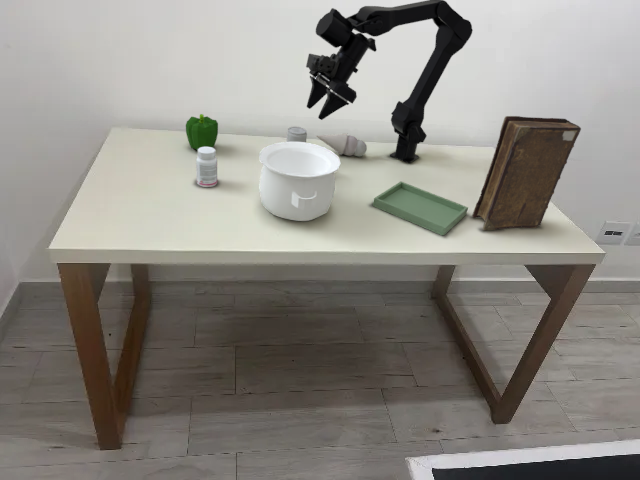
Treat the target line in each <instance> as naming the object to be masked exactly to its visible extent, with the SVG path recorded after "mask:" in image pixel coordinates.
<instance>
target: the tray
mask: <svg viewBox="0 0 640 480" xmlns="http://www.w3.org/2000/svg"><path fill="white" fill-rule="evenodd" d="M372 207H374V208H377V209H379V210H382V211H383V212H386V213H388V214H390V215H393V216H395V217H397V218H400V219H403V220H404V221H408V222H409V223H412V224H414V225H417V226H419V227H422V228H423V229H426V230H428V231H430V232H433V233H435V234H437V235H440V236H445V235H446V234H447V233H448V232H449V231H450V230H452V228H454V227H455V226H456V225H457V224H459V222H460V221H461V220H462V219H464V217H466V216H467V214H468V209H469V207H468V206H465V205H463V204H461V203H458V202H456V201H453V200H450V199H448V198H445V197H442V196H440V195H437V194H435V193H432V192H430V191H427V190H424V189H422V188H419V187H417V186H414V185H411V184H410V183H406V182H405V181H399V182H398V183H395V184H394V185H393V186H391V187H390V188H388V189H386V190H385V191H383V192H381V193H380V194H378V195H377V196H375V197H374V198H373V203H372Z"/></svg>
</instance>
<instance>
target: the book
mask: <svg viewBox="0 0 640 480" xmlns="http://www.w3.org/2000/svg"><path fill="white" fill-rule="evenodd" d="M581 130H582V128H581V127H580V126H579V125H578V124H575V123H573V122H571V121H570V120H568V119H566V118H557V117H532V116H531V117H528V116H520V115H505V116H504V119H503V122H502V124H501V127H500V130H499V131H500V133H499V137H498V140H497V143H496V146H495V151H494V153H493V157H492V160H491V163H490V165H489V168H488V171H487V174H486V177H485V180H484V183H483V186H482V189H481V191H480V194H479V195H480V196H479V197H478V201H477V202H476V204H475V207H474V209H473V212H472V215H471V217H472V218H473V219H474V218H482V220H483V221H484V224H483V226H482V230H483V231H497V230H504V229H505V230H507V229H517V228H522V229H523V228H525V229H534V228H535V229H536V228H538V227H540V226H542V225H541V224H542V222H543V221H544V220H543V219H544V216H545V214H546V212H547V209H549V204H550V202H551V199H552V197H553V195H554V194H555V189H556V187H557V185H558V182H559V180H560V179H561V175H562V173H563V171H564V169H565V167H566V165H567V164H568V159H569V158H570V154H571V152H572V150H573V148H574V147H575V143H576V141H577V139H578V137H579V135H580V134H581Z"/></svg>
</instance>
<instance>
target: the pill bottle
mask: <svg viewBox="0 0 640 480" xmlns="http://www.w3.org/2000/svg"><path fill="white" fill-rule="evenodd" d="M195 165H196V167H195V168H196V170H195V171H196V184H197V185H198V186H200V187H203V188H212V187H215V186H216V185H217V184H218V157H216V148H214V147H213V148H212V147H200V148H199V149H198V151H197V157H196V159H195Z"/></svg>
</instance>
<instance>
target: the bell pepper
mask: <svg viewBox="0 0 640 480" xmlns="http://www.w3.org/2000/svg"><path fill="white" fill-rule="evenodd" d="M218 123H219V122H218V121H217V119H212V118H211V117H210V116H204V114H203V113H200V114H199V117H196V116H190V117H189V119H187V120H186V123H185V133H186V137H187V141H188V144H189V146H190V148H191V149H193V150H196V151H197V152H198V149H199V148H200V147H212V148H214V147H215V145H216V142H217V138H218V135H219V124H218Z"/></svg>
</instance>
